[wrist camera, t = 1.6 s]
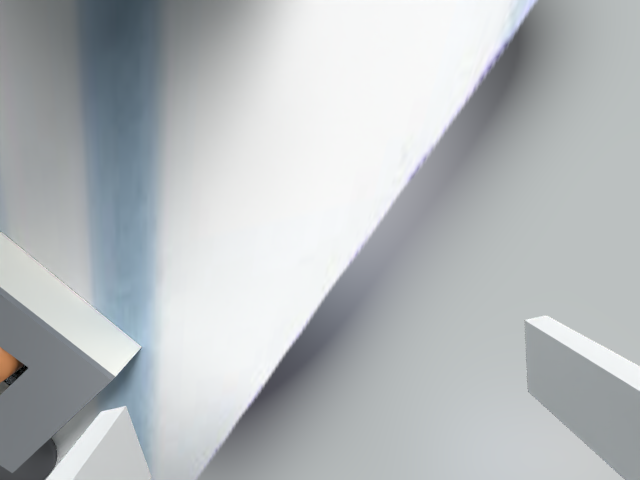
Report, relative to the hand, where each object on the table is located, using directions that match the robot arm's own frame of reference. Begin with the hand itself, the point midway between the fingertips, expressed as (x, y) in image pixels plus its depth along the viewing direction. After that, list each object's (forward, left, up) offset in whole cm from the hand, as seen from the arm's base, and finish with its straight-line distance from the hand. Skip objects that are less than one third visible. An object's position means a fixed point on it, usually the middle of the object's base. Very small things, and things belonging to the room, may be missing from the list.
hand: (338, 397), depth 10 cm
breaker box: (-13, -29, -25) cm, 40 cm away
